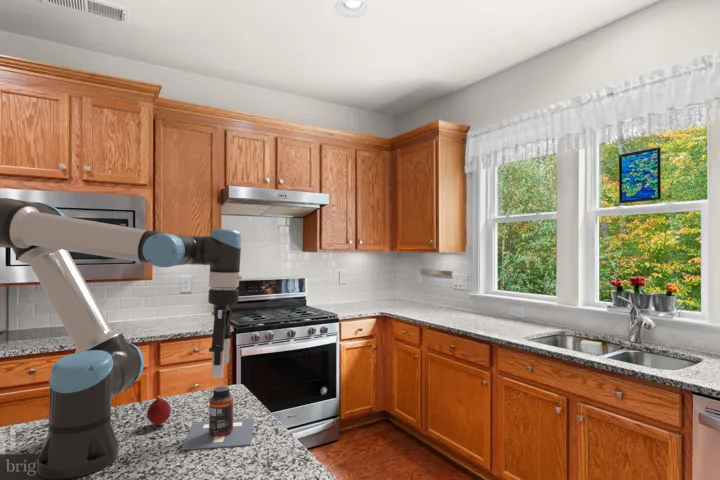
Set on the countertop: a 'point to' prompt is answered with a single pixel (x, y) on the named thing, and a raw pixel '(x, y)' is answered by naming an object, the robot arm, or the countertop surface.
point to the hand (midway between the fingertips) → (220, 369)
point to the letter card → (205, 440)
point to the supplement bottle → (221, 412)
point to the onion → (158, 411)
